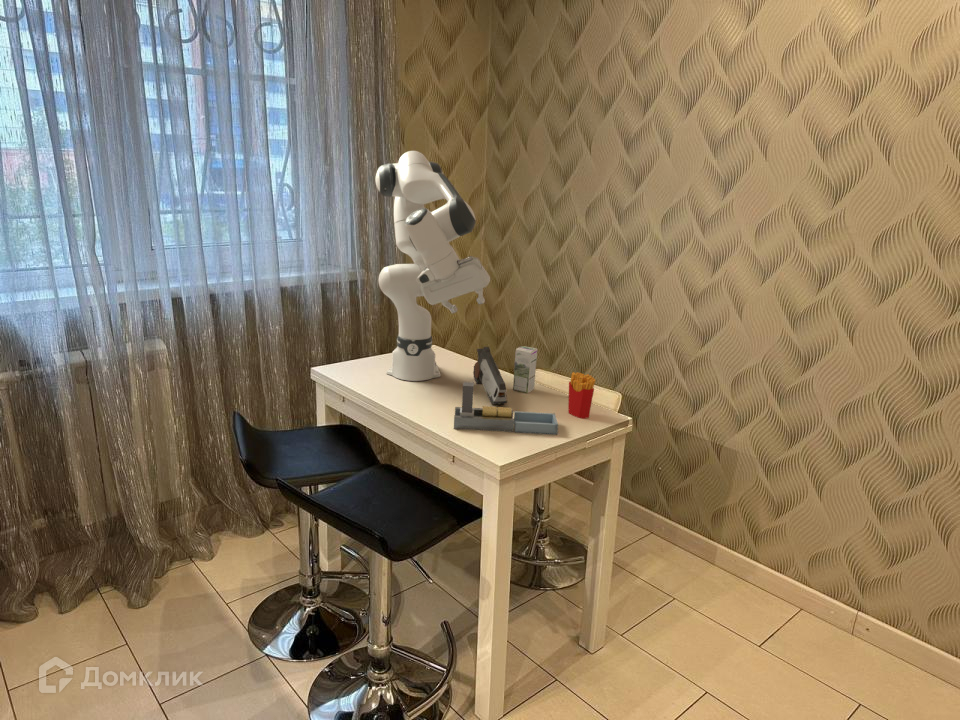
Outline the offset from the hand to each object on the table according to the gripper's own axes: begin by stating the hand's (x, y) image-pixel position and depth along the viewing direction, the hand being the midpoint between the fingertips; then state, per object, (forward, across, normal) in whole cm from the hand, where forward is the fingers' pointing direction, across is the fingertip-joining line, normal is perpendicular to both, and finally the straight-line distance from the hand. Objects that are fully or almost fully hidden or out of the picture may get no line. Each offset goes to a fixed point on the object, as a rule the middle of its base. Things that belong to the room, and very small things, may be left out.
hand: (468, 307), depth 194 cm
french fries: (+48, -11, -7) cm, 50 cm away
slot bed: (+31, +8, +13) cm, 35 cm away
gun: (+36, +19, -13) cm, 43 cm away
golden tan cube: (+31, +6, +12) cm, 34 cm away
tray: (+39, -4, +8) cm, 40 cm away
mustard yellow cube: (+33, +2, +11) cm, 35 cm away
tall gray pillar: (+28, +11, +14) cm, 33 cm away
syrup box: (+43, +11, -21) cm, 49 cm away
